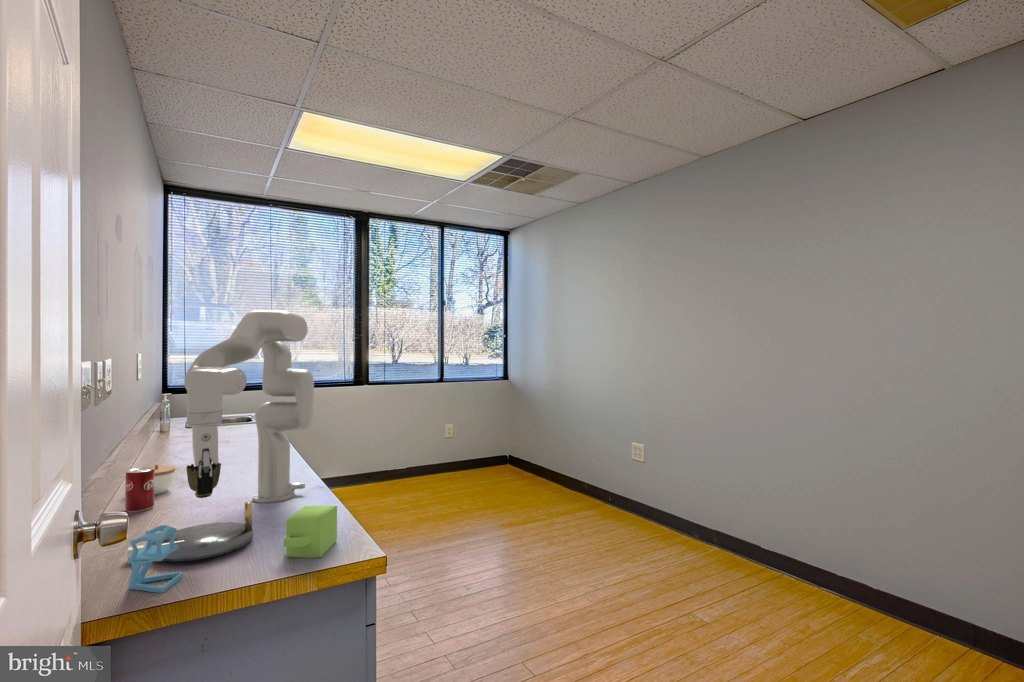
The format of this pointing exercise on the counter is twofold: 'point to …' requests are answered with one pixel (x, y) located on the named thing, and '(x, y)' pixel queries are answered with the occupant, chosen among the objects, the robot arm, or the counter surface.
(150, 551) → the chair
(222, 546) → the turntable
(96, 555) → the counter surface
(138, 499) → the soda can
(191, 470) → the cup
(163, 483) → the lidded jar
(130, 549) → the turntable base
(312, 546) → the gearbox
